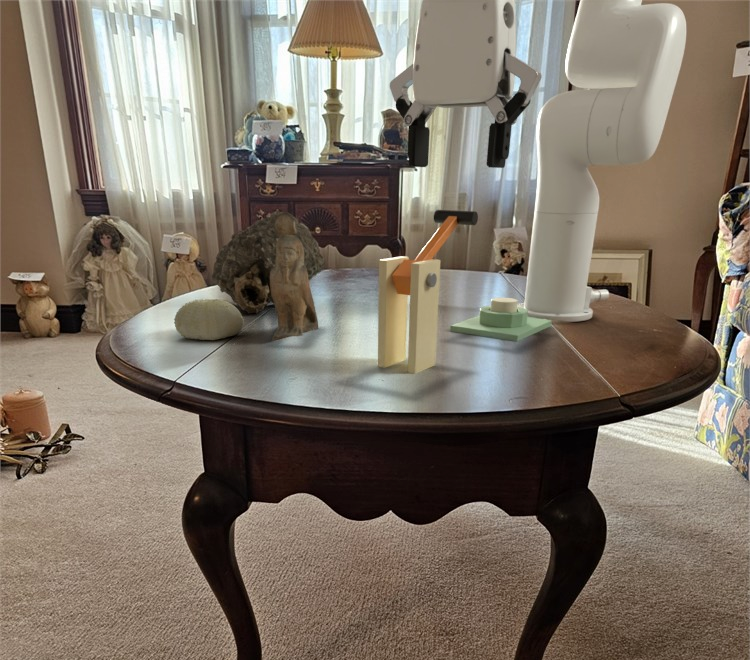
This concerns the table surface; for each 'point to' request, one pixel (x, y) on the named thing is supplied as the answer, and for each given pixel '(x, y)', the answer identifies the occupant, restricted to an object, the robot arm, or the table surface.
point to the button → (504, 305)
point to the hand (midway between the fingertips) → (455, 167)
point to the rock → (259, 262)
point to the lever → (433, 244)
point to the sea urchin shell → (208, 320)
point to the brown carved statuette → (291, 283)
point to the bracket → (420, 317)
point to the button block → (502, 324)
